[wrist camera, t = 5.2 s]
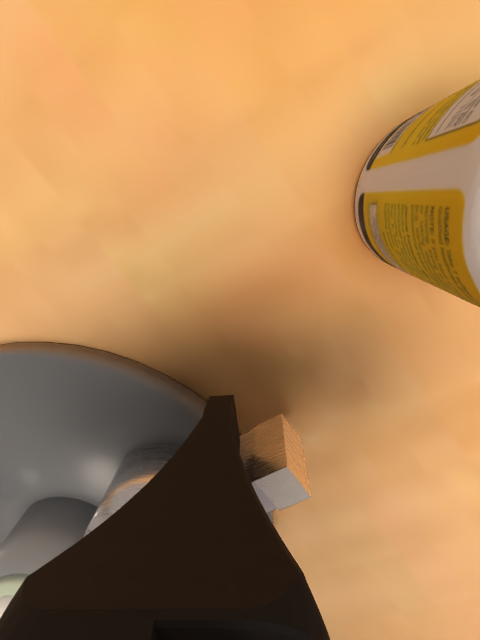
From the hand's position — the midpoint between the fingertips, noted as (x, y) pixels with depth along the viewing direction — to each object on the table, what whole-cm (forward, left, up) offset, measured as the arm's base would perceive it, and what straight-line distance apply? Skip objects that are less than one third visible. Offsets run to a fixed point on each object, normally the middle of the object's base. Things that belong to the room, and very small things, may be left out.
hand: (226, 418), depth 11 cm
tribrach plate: (-7, +9, -2) cm, 12 cm away
